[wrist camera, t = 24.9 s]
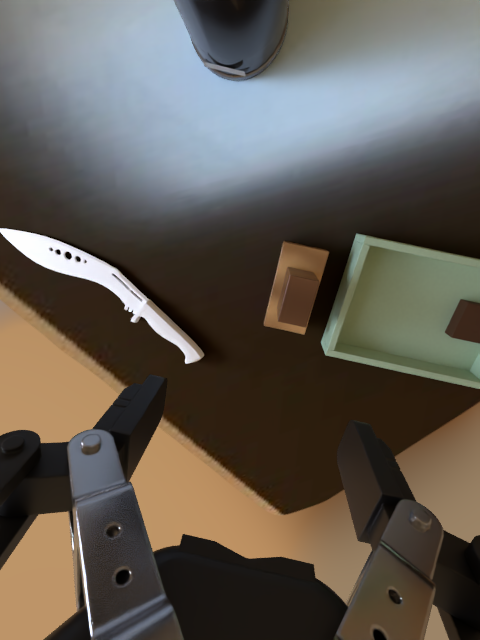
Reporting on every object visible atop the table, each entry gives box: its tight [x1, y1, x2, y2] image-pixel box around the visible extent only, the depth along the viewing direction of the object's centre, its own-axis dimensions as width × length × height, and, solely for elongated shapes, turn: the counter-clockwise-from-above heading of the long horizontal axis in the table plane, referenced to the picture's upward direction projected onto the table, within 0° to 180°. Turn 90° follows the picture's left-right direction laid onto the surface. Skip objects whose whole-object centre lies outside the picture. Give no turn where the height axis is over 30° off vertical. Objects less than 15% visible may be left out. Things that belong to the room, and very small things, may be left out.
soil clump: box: [445, 299, 480, 344], centre depth 35 cm, size 4×4×2 cm
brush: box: [264, 241, 329, 334], centre depth 34 cm, size 10×5×8 cm, turn 169°
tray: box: [321, 234, 480, 389], centre depth 35 cm, size 14×20×4 cm
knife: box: [0, 228, 204, 364], centre depth 39 cm, size 30×2×8 cm
